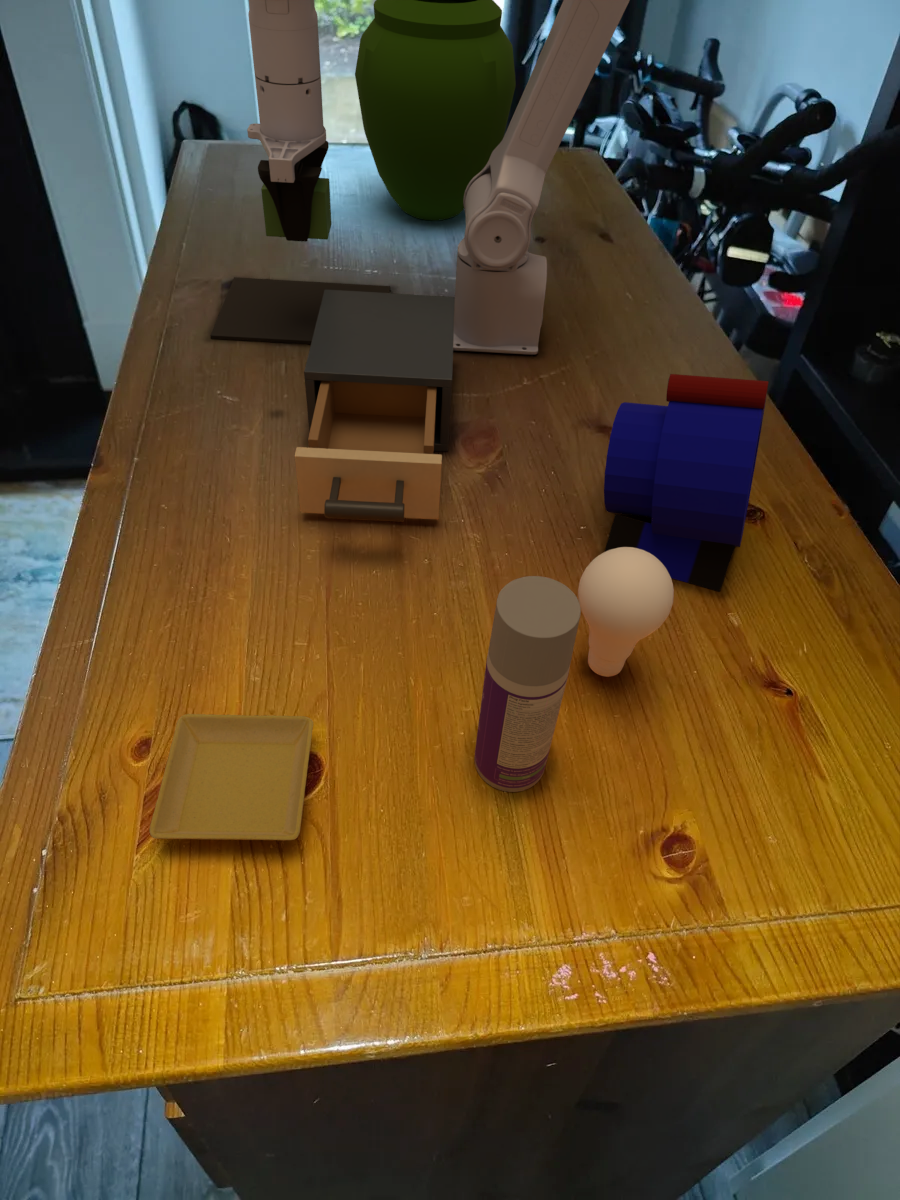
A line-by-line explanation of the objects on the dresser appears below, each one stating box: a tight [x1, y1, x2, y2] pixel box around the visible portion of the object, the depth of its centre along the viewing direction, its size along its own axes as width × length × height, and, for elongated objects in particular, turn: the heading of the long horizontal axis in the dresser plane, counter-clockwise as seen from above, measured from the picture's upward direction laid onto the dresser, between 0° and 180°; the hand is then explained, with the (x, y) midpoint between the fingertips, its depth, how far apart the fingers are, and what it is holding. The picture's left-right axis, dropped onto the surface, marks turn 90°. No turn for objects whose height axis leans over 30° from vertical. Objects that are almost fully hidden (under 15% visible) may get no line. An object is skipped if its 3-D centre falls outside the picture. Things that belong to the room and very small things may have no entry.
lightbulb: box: [577, 547, 675, 678], centre depth 57 cm, size 6×6×11 cm
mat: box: [209, 276, 391, 345], centre depth 93 cm, size 18×13×1 cm
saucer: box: [148, 713, 314, 841], centre depth 52 cm, size 9×9×2 cm
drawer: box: [294, 380, 443, 523], centre depth 70 cm, size 18×11×6 cm, turn 179°
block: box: [260, 177, 332, 241], centre depth 82 cm, size 6×4×4 cm, turn 89°
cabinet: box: [303, 290, 455, 452], centre depth 79 cm, size 15×13×8 cm
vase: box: [354, 0, 517, 221], centre depth 105 cm, size 20×20×24 cm
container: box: [474, 575, 582, 793], centre depth 50 cm, size 5×5×15 cm
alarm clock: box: [603, 373, 770, 592], centre depth 66 cm, size 12×12×15 cm
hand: (300, 230), depth 84 cm, fingers closed on block, 3 cm apart
